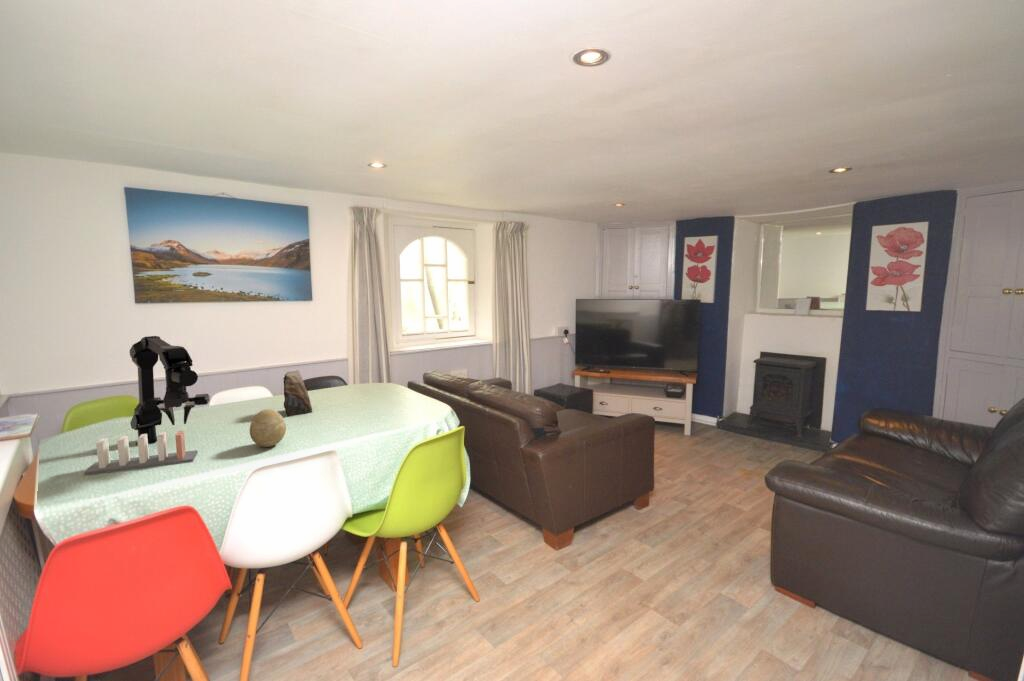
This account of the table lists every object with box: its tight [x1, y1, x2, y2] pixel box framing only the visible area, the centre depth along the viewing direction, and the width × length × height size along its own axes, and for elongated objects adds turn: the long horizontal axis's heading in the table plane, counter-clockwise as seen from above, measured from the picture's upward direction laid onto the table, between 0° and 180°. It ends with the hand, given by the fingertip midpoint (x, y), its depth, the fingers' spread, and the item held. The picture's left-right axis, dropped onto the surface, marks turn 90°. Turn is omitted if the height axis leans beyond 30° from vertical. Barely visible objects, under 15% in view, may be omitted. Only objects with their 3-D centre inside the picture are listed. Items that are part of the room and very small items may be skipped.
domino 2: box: [116, 435, 131, 466], centre depth 159 cm, size 5×2×9 cm, turn 25°
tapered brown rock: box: [283, 370, 313, 417], centre depth 225 cm, size 13×13×20 cm
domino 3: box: [136, 434, 150, 463], centre depth 162 cm, size 5×2×9 cm, turn 25°
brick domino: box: [174, 430, 186, 460], centre depth 166 cm, size 5×2×9 cm, turn 25°
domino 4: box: [156, 431, 169, 461], centre depth 164 cm, size 5×2×9 cm, turn 25°
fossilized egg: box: [249, 408, 287, 448], centre depth 180 cm, size 13×13×15 cm
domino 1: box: [95, 437, 111, 468], centre depth 157 cm, size 5×2×9 cm, turn 25°
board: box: [83, 450, 199, 476], centre depth 162 cm, size 9×30×1 cm, turn 115°
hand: (179, 424), depth 165 cm, fingers open, 3 cm apart
